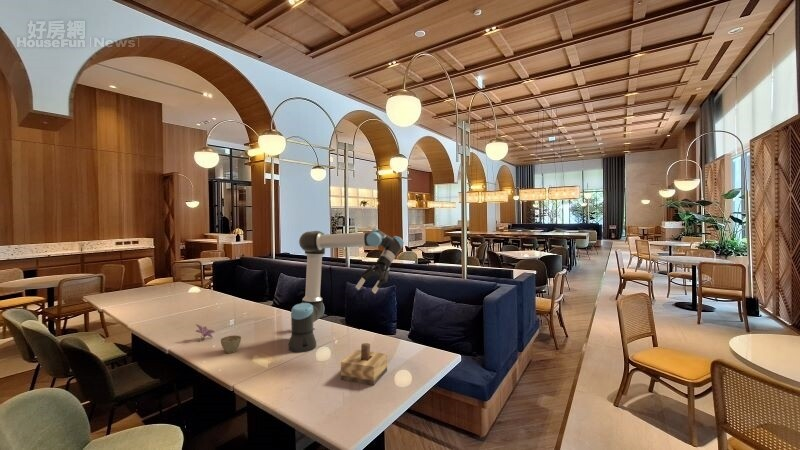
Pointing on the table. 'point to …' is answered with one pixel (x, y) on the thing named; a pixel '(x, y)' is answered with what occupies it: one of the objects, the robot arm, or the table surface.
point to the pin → (365, 351)
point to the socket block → (364, 368)
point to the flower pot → (230, 343)
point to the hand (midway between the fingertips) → (365, 290)
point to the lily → (204, 331)
